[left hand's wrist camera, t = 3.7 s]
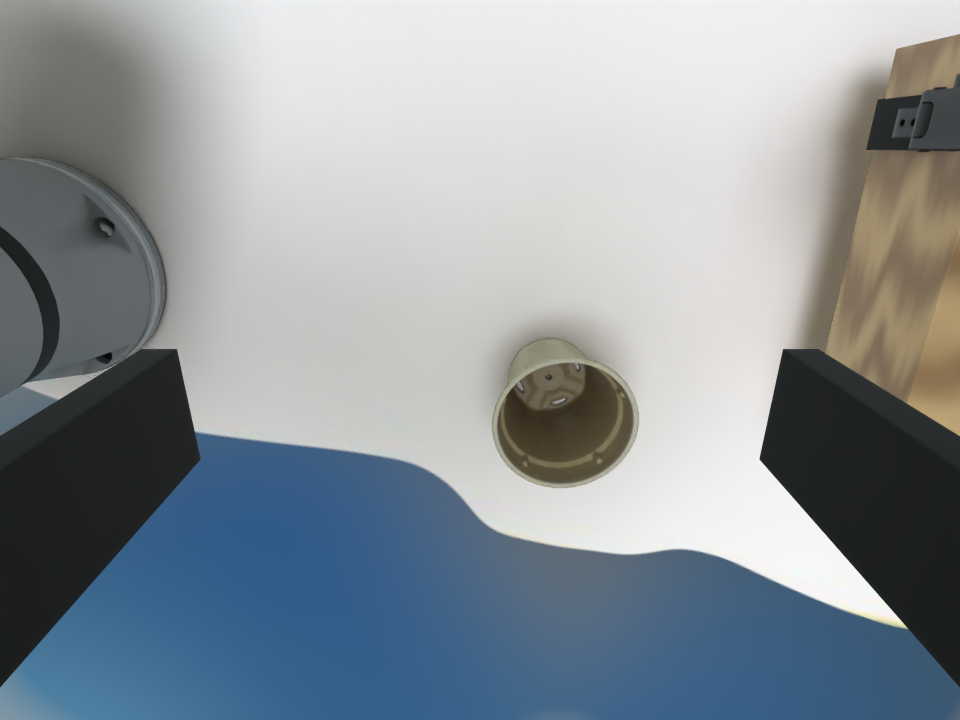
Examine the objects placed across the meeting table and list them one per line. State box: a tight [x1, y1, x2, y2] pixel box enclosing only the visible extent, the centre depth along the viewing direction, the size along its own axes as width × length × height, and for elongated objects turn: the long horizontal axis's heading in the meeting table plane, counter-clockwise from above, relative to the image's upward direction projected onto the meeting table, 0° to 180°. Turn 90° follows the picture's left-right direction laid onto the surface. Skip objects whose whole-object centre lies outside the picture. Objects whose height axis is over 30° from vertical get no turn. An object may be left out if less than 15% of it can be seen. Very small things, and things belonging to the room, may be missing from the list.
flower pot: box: [492, 338, 639, 488], centre depth 40 cm, size 9×9×9 cm
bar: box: [825, 34, 960, 436], centre depth 32 cm, size 24×5×8 cm, turn 0°
